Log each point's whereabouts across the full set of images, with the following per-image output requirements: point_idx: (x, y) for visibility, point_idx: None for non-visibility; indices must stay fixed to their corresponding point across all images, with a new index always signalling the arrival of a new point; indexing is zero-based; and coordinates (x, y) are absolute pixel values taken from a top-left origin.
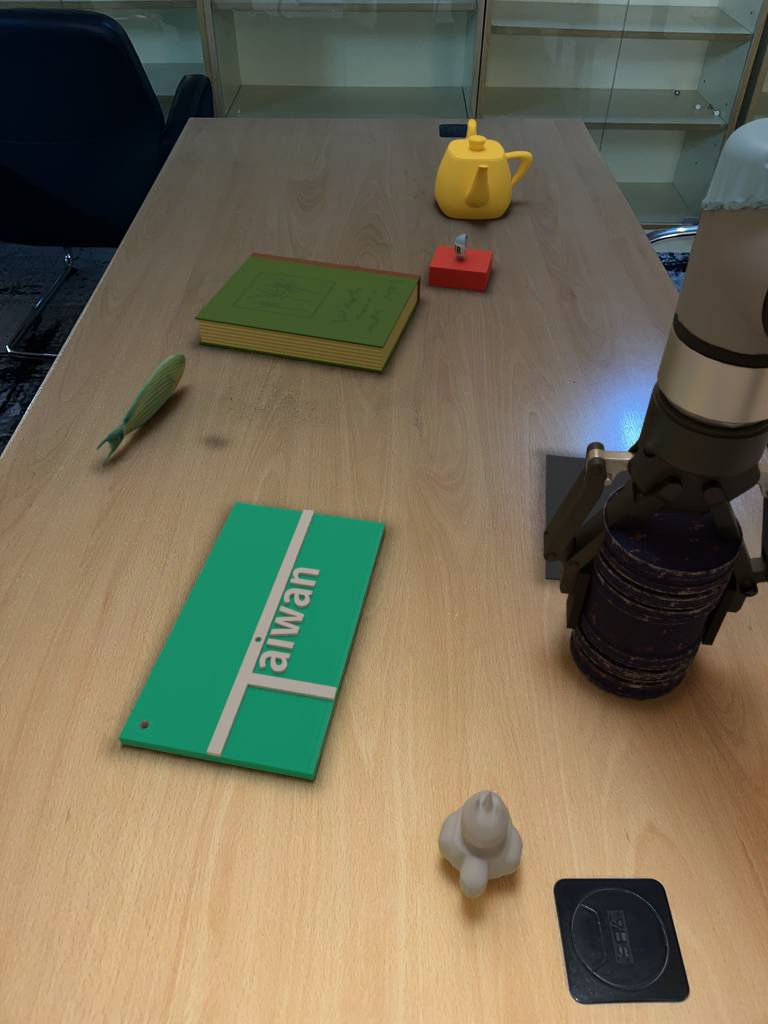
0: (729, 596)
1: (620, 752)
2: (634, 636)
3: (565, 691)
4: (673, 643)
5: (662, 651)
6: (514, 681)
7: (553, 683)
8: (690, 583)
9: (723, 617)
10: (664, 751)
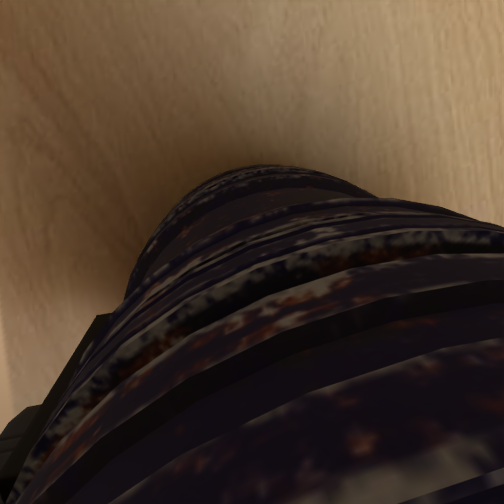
0: (33, 445)
1: (259, 22)
2: (341, 197)
3: (379, 145)
4: (210, 220)
5: (233, 202)
6: (478, 138)
7: (403, 158)
8: (300, 367)
9: (63, 375)
10: (169, 54)
